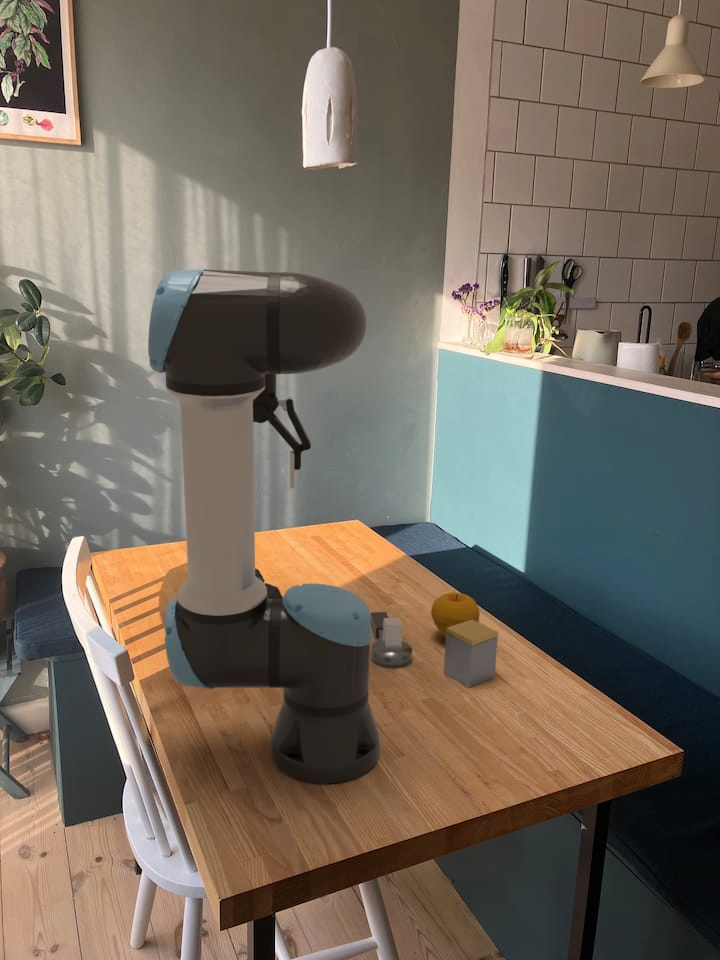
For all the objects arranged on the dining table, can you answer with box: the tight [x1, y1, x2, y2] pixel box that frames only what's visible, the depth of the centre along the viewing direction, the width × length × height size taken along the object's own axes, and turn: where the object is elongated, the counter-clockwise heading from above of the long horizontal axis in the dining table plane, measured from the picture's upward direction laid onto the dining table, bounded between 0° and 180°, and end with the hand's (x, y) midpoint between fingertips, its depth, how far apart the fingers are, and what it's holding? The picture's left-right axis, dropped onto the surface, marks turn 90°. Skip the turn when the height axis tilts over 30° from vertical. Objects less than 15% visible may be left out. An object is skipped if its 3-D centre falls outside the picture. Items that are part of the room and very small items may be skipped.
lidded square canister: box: [443, 620, 499, 689], centre depth 134 cm, size 6×6×8 cm
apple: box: [430, 591, 480, 639], centre depth 147 cm, size 9×9×9 cm
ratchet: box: [370, 611, 413, 669], centre depth 145 cm, size 19×7×7 cm, turn 7°
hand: (255, 486), depth 149 cm, fingers open, 13 cm apart
